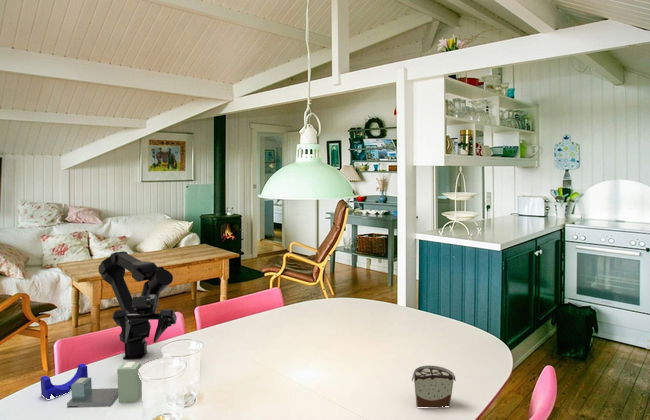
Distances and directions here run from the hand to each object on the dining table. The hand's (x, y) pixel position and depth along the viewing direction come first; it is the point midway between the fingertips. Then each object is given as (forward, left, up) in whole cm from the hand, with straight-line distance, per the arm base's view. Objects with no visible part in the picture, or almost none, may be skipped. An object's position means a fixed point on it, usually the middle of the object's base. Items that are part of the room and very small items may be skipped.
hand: (139, 342), depth 137 cm
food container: (+87, -16, -14) cm, 90 cm away
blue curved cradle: (-21, -3, -14) cm, 26 cm away
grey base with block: (-10, -8, -14) cm, 19 cm away
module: (0, -8, -14) cm, 16 cm away
